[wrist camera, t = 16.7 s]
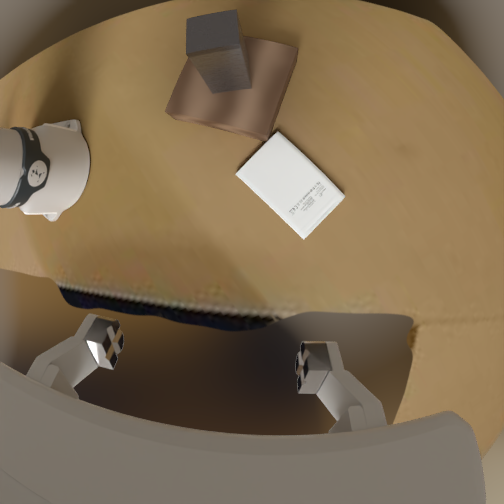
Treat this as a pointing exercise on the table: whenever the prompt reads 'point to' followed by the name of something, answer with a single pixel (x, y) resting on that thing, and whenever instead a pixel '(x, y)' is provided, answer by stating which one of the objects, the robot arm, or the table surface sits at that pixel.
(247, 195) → the table surface
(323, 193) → the external hard drive
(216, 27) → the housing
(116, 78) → the table surface
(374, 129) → the table surface
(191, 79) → the stand
